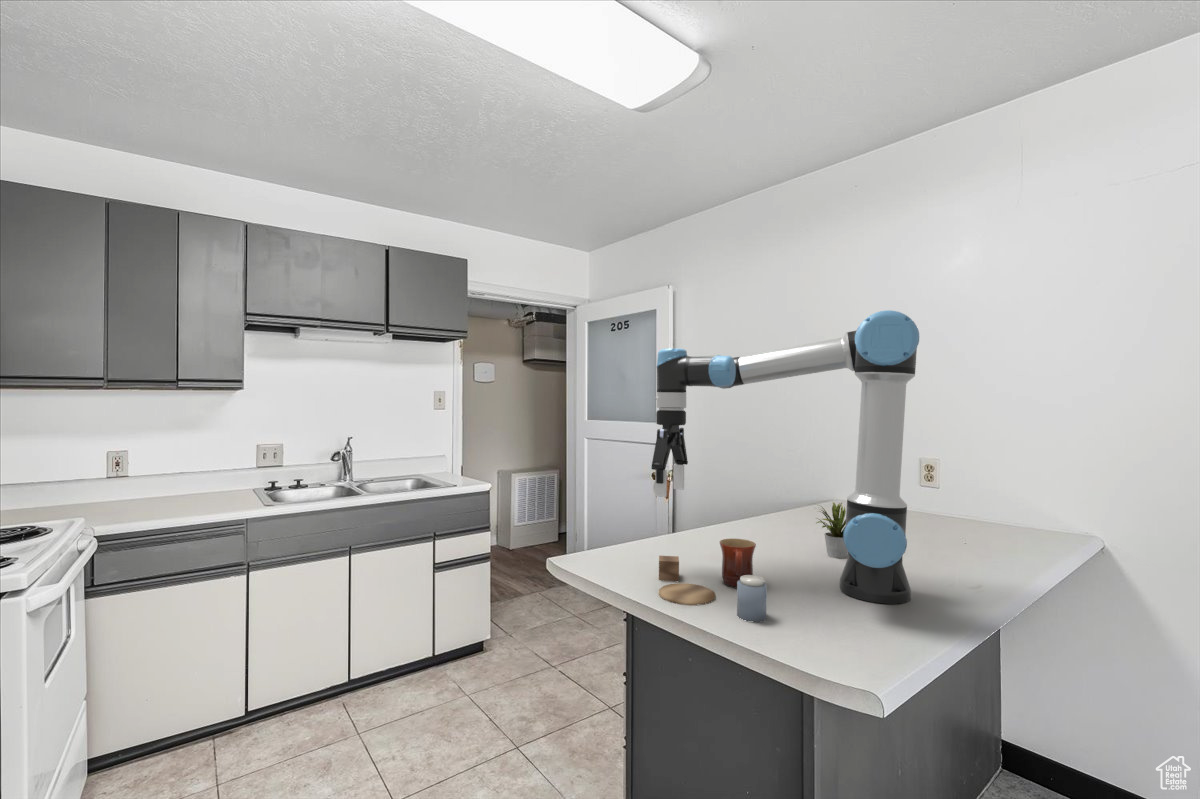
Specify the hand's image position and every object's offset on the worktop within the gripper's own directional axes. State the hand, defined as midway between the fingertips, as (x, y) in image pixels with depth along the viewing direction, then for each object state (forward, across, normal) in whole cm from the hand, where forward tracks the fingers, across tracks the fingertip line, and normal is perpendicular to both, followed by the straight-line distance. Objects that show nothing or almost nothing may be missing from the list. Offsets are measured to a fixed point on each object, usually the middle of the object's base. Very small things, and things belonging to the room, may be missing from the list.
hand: (670, 492), depth 142 cm
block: (+22, 0, 0) cm, 22 cm away
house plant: (+22, -45, +36) cm, 62 cm away
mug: (+22, -2, +17) cm, 28 cm away
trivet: (+22, +10, +8) cm, 25 cm away
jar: (+22, +16, +24) cm, 36 cm away
